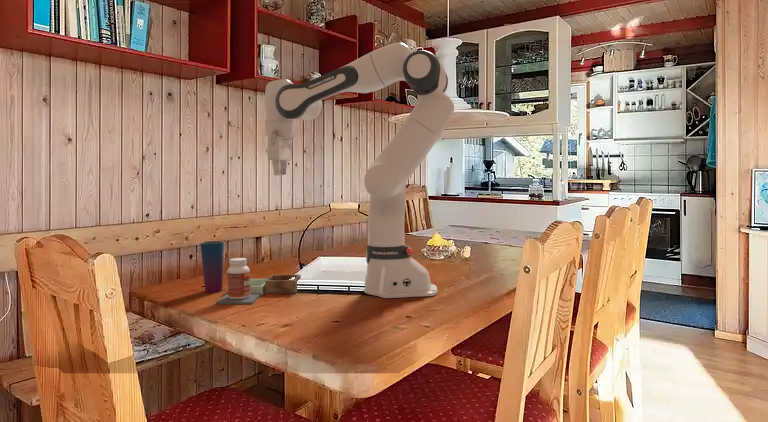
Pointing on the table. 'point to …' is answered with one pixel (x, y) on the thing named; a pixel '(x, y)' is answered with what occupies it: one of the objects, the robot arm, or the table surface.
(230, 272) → the pill bottle
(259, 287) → the rim tray
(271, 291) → the crate
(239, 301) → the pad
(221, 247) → the cup
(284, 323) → the table surface
